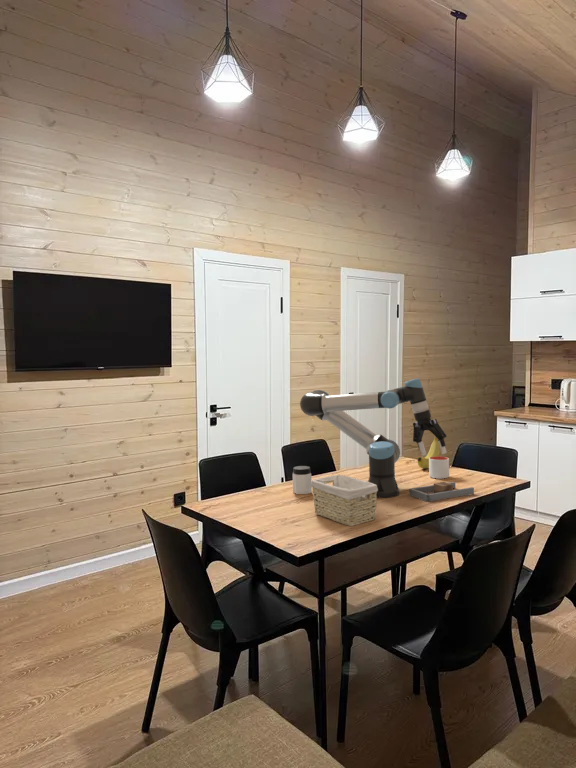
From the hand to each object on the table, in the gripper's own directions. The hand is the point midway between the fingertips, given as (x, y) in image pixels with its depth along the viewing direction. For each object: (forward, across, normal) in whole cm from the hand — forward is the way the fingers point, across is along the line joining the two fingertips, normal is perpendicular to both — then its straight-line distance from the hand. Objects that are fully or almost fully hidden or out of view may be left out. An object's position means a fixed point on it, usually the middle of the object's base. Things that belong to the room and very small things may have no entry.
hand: (434, 454), depth 267 cm
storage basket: (+8, -8, +63) cm, 64 cm away
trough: (+17, -5, +7) cm, 19 cm away
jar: (0, +34, +55) cm, 65 cm away
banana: (+14, +41, -31) cm, 53 cm away
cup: (+16, +21, -18) cm, 32 cm away
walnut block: (+18, -5, +6) cm, 19 cm away
